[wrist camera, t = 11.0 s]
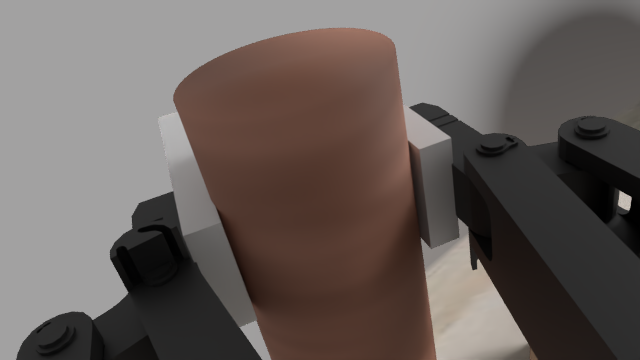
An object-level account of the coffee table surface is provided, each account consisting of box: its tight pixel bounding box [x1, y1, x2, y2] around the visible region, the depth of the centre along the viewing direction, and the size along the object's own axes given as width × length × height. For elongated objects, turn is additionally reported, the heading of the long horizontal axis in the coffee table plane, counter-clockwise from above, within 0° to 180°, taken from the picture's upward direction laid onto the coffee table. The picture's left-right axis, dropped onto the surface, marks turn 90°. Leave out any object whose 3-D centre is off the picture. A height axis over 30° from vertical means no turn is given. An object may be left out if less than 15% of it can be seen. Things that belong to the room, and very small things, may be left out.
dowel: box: [173, 28, 437, 360], centre depth 14 cm, size 4×4×14 cm
